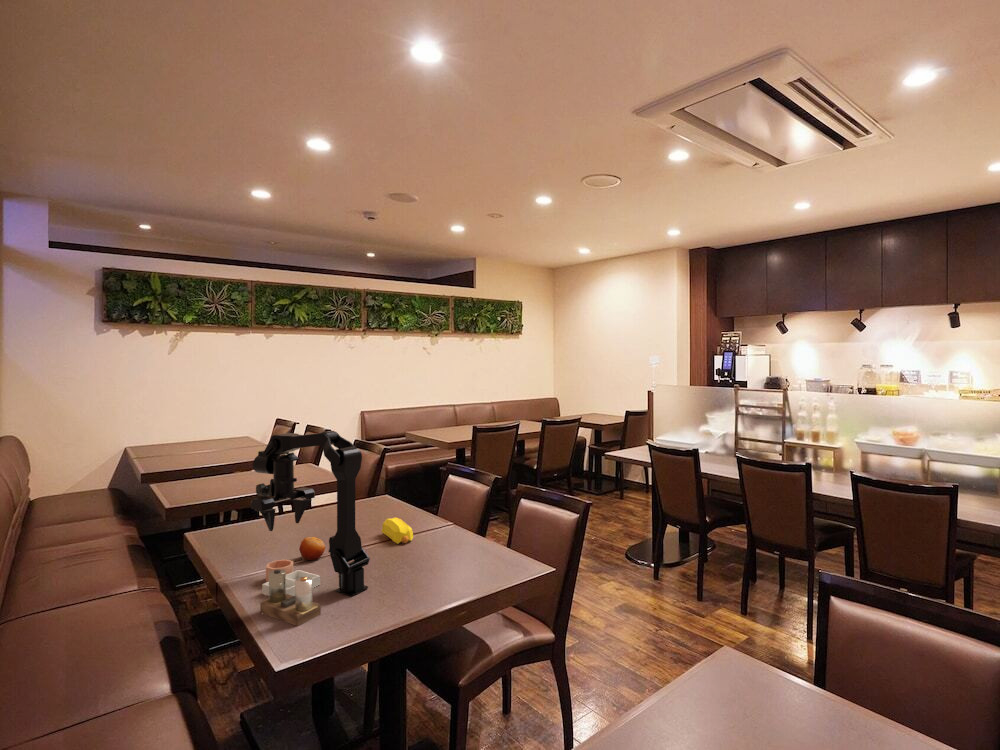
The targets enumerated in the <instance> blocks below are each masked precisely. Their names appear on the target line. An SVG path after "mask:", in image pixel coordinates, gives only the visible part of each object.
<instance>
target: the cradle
mask: <svg viewBox="0 0 1000 750" xmlns="http://www.w3.org/2000/svg"><path fill="white" fill-rule="evenodd" d="M259 607H260V610H259V611H260V614H262V613H263V614H262V615H265V614H266V616H268V617H271V618H274V619H277V620H279V621H282V622H286V623H288V624H292V625H294V626H297V627H299V626H301V625H303V624H304V623H306V622H309V621H310V620H312V619H314V618H316V617H319V616H321V613H322V611H321V610H322V608H321V607H322V605H321V604H320V603H318V602H313V601H312V609H310V610H308V611H304V612H298V611H296V610H295V596H292V595H289V594H286V599H285V600H284V601H282V602H278V603H271V602H269V598H267V599H264V600H263V601H262V602H260V603H259Z"/></svg>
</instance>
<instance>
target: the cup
mask: <svg viewBox="0 0 1000 750" xmlns="http://www.w3.org/2000/svg"><path fill="white" fill-rule="evenodd" d="M294 568H295V567H294V560H290V559H280V560H278V559H277V560H273V561H270V562H268V563H267V564H266V566H265V581H266V583H267V582H269V572H271V571H274V570H277V569H280V570H285V571H286V575H287V574H289V573H292V572H294Z"/></svg>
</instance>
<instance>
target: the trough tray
mask: <svg viewBox="0 0 1000 750" xmlns="http://www.w3.org/2000/svg"><path fill="white" fill-rule="evenodd" d="M301 577H311V578H312V588H313V589H315V588H317V587H316V586H318V585H320V586H321V576H320V575H318V574H316V573H311V572H307V571H305V570H300V569H297V570H295V571H294V572H292V573H289V574H287V575H286V594H289V595H292V596H295V580H296V579H298V578H301ZM314 587H315V588H314ZM318 587H319V586H318ZM263 594H265V595H264V596H267V595H268V596H267V597H269V582H267V581H266V582H264V583H262V595H263Z"/></svg>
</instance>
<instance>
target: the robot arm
mask: <svg viewBox="0 0 1000 750" xmlns="http://www.w3.org/2000/svg"><path fill="white" fill-rule="evenodd" d="M332 445H333V446H334V447H333V446H332ZM310 447H321V448H322V451H323V456H324V457H325V458H326V459H327V461H328V462H329V463H330V468H331V473H332V474H333V476H334V477H335V479H336V532H335V534H334V535H333V536H330V537H329V539H328V546H329V548H328V553H330V554H329V556H330V559H331V563H332V566H333V570H334V573H337V574H338V588H336V589H335V593H338V594H342V595H345V596H349V597H353V596H356V595H358V594H360V593H361V592H364V591H365V590H367V589H369V586H367V585H365V566H368V565H369V563H370V559H371V558H370V556H369V554H368V553H367V552H366V551H365V548H363V546H362V538H361V536H360V535H359V533H358V531H357V530H356V478H358V474H359V473H360V470H361V468H362V459H363V454H362V451H361V450H360V449H359V448H358V447H357V446H355V445H354V444H353V443H352V442H351V441H350V440H347V439H345V438H344V437H342V436H341V435H340V434H339V433H338V432H337V431H334V430H328V431H327V430H326V431H322V432H317V433H308V434H299V433H297V432H296V433H293V432H287V433H286V432H284V433H279V434H273V435H271V437H270V440H269V441H268V443H267V444H266V447H265V448H264V450H259V451H258V452H257V453H258V455H256V456H255V458H254V459H253V462H252V469H253V471H254V472H255V473H258V474H267V475H268V474H269V475H273V477H272V478H271V479H270V480H269V484H267V485H266V484H265V483H258V484H257V485H255V493H256V495H257V496H260V497H256V498H253V499H252V500H251V501H250V510H254V511H255V512H259V513H260V514H261V515H262V517H263V519H264V521H265V523H266V526H267V528H268V531H269V532H273V530H274V527H275V526H274V525H275V520H276V519H275V518H276V508H274V507H275V505H276V504H280V503H284V502H288V501H292V503H293V504H294V521H295V524H300V521H301V519H302V517H303V515H304V514H305V511H306V509H307V508H308V505H309V503H310V502H312V499H314V498H316V496H315V495H316V494H315V493H316V492H315V490H314V489H313V488H309V487H304V486H303V487H299V488H295V482H297V479H298V478H297V477H295V473H294V469H295V468H294V467H295V466H294V465H295V464H294V462H295V461H299V460H300V459H299V457H298V456H297V455H296V454H295V453H294V451H297V450H300V449H302V448H310ZM335 448H336V449H335Z"/></svg>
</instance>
